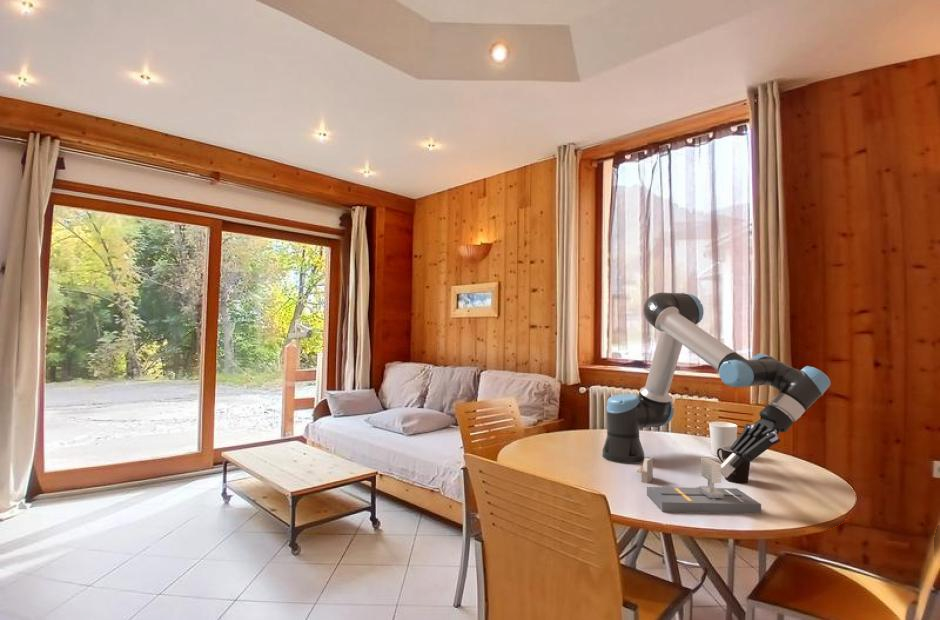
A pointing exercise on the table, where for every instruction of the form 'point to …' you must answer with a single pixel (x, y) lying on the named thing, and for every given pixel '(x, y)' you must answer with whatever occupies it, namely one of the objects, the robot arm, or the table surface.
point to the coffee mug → (740, 472)
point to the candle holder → (722, 435)
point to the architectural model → (647, 470)
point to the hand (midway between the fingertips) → (721, 473)
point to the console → (702, 500)
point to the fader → (711, 478)
